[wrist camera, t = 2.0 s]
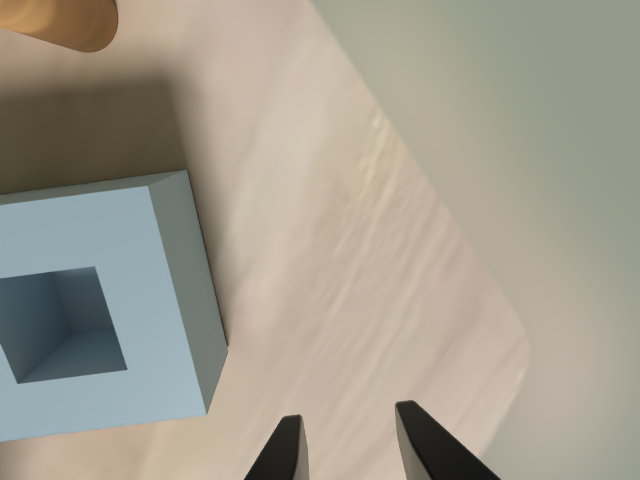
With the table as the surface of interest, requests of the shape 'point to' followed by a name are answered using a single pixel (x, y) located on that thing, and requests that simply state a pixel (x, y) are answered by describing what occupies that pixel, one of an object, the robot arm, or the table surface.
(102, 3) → the dowel
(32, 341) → the block
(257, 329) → the table surface
